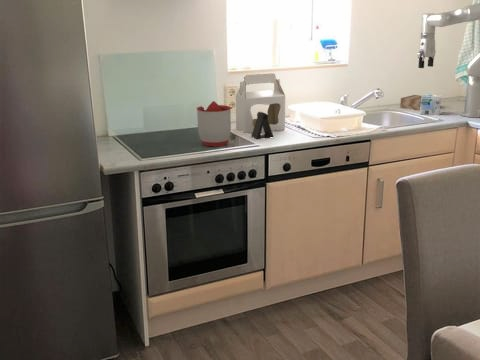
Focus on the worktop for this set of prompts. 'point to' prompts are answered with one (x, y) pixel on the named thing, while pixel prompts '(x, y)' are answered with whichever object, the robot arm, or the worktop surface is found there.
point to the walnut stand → (411, 102)
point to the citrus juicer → (214, 124)
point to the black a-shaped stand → (262, 122)
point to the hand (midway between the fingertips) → (425, 67)
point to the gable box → (260, 97)
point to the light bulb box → (430, 104)
